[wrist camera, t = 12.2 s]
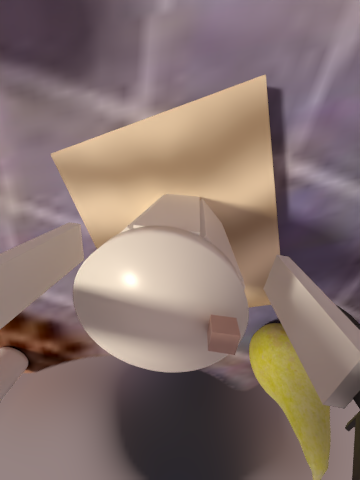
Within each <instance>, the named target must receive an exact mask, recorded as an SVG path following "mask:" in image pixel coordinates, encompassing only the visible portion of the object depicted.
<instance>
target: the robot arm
mask: <svg viewBox="0 0 360 480" xmlns="http://www.w3.org/2000/svg"><path fill="white" fill-rule="evenodd" d="M83 260H84V255H83V245H82V236H81V226H80V224H76V223H67V224H65V225H63V226H61V227H58V228H56V229H54V230H52V231H50V232H47V233H45V234H43V235H41V236H38V237H36V238H34V239H32V240H30V241H27V242H25V243H23V244H21V245H19V246H16V247H14V248H12V249H10V250H8V251H5V252H3V253H1V254H0V329H1V328H2V327H4V326H5V325H6V324H7V323H8V322H10V321H11V320H12V319H13V318H14V317H16V316H17V315H18V314H19V313H20V312H22V311H23V310H24V309H25V308H26V307H28V306H29V305H30V304H31V303H32V302H34V301H35V300H36V299H37V298H38V297H40V296H41V295H42V294H43V293H44V292H46V291H47V290H48V289H49V288H50V287H52V286H53V285H54V284H55V283H56V282H58V281H59V280H60V279H61V278H62V277H64V276H65V275H66V274H67V273H68V272H70V271H71V270H72V269H73V268H74V267H76V266H77V265H78V264H79V263H80V262H82V261H83ZM264 291H265V293H266V295H267V297H268V299H269V301H270V303H271V305H272V307H273V309H274V310H275V312H276V314H277V316H278V318H279V320H280V322H281V324H282V326H283V328H284V330H285V332H286V334H287V336H288V338H289V340H290V342H291V344H292V345H293V347H294V349H295V351H296V353H297V355H298V357H299V359H300V361H301V363H302V365H303V367H304V369H305V371H306V373H307V375H308V377H309V379H310V380H311V382H312V384H313V386H314V388H315V390H316V392H317V394H318V396H319V398H320V400H321V402H322V404H323V405H327V406H333V407H338V408H343V409H344V408H345V407H346V406H347V405H348V404H349V403H350V402H351V401H352V400H353V399H354V401H355V402H356V404H357V405H358V407H359V408H360V324H359V323H358V322H357V321H356V320H355V319H354V318H353V317H352V316H351V315H350V314H348V313H347V312H346V311H344V310H343V309H341V308H340V307H339V306H336V305H335V304H334V303H333V302H332V301H331V300H330V299H329V298H328V297H327V296H326V295H325V294H324V293H323V292H322V291H321V290H320V288H319V287H318V286H317V285H316V284H315V283H314V282H313V281H312V280H311V279H310V278H309V277H308V276H307V275H306V274H305V273H304V272H303V271H302V270H301V269H300V268H299V267H298V266H297V265H296V264H295V263H294V262H293V261H292V260H291V258H290V257H288V256H282V255H276V258H275V260H274V263H273V265H272V268H271V271H270V273H269V276H268V278H267V281H266V283H265V286H264ZM353 427H355V441H354V458H353V476H352V480H360V411H359V412H358V413H357V415H355V416H354V417H353V419H351V420H350V421H349V422H348V423H347V425H346V427H345V428H346V429H347V430H348V431H350V430H351V429H352V428H353Z"/></svg>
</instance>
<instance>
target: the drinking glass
mask: <svg viewBox="0 0 360 480" xmlns="http://www.w3.org/2000/svg"><path fill="white" fill-rule="evenodd" d="M27 367H28V359H27V357H26V356H25V355H24V354H23V353H22V352H20V351H19V350H17V349H14V348H11V347H1V348H0V402H1V401H2V399H3V398H4V397H5V395H6V394H7V393H8V391H9V390H10V389H11V387H12V386H13V385H14V384H15V382H16V381H17V380H18V378H19V377H20V376H21V375H22V374H23V373H24V371H25V370H26V369H27Z"/></svg>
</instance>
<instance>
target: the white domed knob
mask: <svg viewBox="0 0 360 480" xmlns="http://www.w3.org/2000/svg"><path fill="white" fill-rule="evenodd" d="M244 290H245V284H244V279H243V277H242V274H241V272H240V269H239V266H238V264H237V261H236V259H235V256H234V253H233V251H232V248H231V246H230V243H229V240H228V238H227V235H226V233H225V230H224V227H223V225H222V223H221V221H220V220H219V219H218V218H217V216H216V215H215V214H214V212H213V211H212V210H211V209H210V207H209V206H208V205H207V203H206V202H205V201H204V200H203V199H201V200H200V197H197V196H187V195H177V194H166V195H163V196H161V197H160V198H159V199H158V200H157V201H156V202H155V203H153V204H152V205H151V206H150V207H149V208H148V209H147V210H145V211H144V212H143V213H142V214H141V215H140V216H139V217H137V218H136V219H135V220H134V221H133V222H132V223H130V224H129V225H128V226H127V227H126V228H125V229H124V230H123V231H121V232H120V233H119V234H117V235H116V236H114V237H112V238H111V239H109V240H108V241H107V242H105V243H104V244H103V245H102V246H101V247H99V248H98V249H97V250H96V251H95V252H93V253H92V254H91V255H90V256H89V257H88V258H87V259H86V260H85V261H84V263H83V264H82V266H81V267H80V269H79V271H78V273H77V275H76V278H75V281H74V286H73V302H74V307H75V311H76V314H77V316H78V318H79V321H80V323H81V324H82V326H83V328H84V329H85V330H86V332H87V333H88V334H89V336H90V337H91V338H92V339H93V340H94V341H95V342H96V343H97V344H98V345H99V346H101V347H102V348H103V349H104V350H106V351H107V352H108V353H110V354H111V355H113V356H115V357H117V358H118V359H120V360H122V361H124V362H127V363H129V364H132V365H134V366H137V367H140V368H144V369H148V370H153V371H161V372H186V371H193V370H197V369H201V368H204V367H207V366H210V365H212V364H214V363H216V362H218V361H220V360H221V359H223V358H225V357H226V356H227V355H228V354H232V355H235V353H236V350H237V347H238V344H239V343H240V341H241V339H242V338H243V336H244V334H245V331H246V329H247V324H248V318H249V309H248V301H247V298H246V295H245V292H244Z"/></svg>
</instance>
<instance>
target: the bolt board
mask: <svg viewBox="0 0 360 480" xmlns="http://www.w3.org/2000/svg"><path fill="white" fill-rule="evenodd" d="M51 156H52V158H53V160H54V162H55V164H56V167H57V169H58V171H59V173H60V175H61V177H62V179H63V181H64V183H65V185H66V187H67V189H68V191H69V193H70V195H71V197H72V199H73V201H74V203H75V205H76V207H77V209H78V211H79V213H80V215H81V217H82V219H83V221H84V223H85V226H86V228H87V230H88V232H89V234H90V236H91V238H92V240H93V242H94V244H95V246H96V248H97V249H98V248H99V247H101V246H102V245H103V244H104V243H105V242H107V241H108V240H109V239H111V238H112V237H114V236H116V235H117V234H119V233H120V232H121V231H123V230H124V229H125V228H126V227H127V226H128V225H129V224H130V223H132V222H133V221H134V220H135V219H136V218H137V217H139V216H140V215H141V214H142V213H143V212H144V211H145V210H147V209H148V208H149V207H150V206H151V205H152V204H153V203H155V202H156V201H157V200H158V199H159V198H160V197H161V196H163V195H166V194H177V195H187V196H197V197H200V200H201V199H203V200H204V201H205V202H206V203H207V205H208V206H209V207H210V209H211V210H212V211H213V212H214V214H215V215H216V216H217V218H218V219H219V220H220V221H221V223H222V225H223V227H224V230H225V233H226V235H227V238H228V240H229V243H230V246H231V248H232V251H233V253H234V256H235V259H236V261H237V264H238V266H239V269H240V272H241V274H242V277H243V279H244V284H245V290H244V292H245V295H246V298H247V301H248V307H256V306H263V305H270V304H271V303H270V301H269V299H268V297H267V295H266V293H265V291H264V286H265V283H266V281H267V278H268V276H269V273H270V271H271V268H272V265H273V263H274V260H275V258H276V255H280V247H279V234H278V222H277V209H276V197H275V185H274V172H273V160H272V147H271V135H270V123H269V110H268V98H267V85H266V75H263V76H260V77H257V78H255V79H252V80H249V81H247V82H244V83H241V84H238V85H236V86H233V87H230V88H228V89H225V90H222V91H220V92H217V93H214V94H211V95H209V96H206V97H203V98H201V99H198V100H195V101H192V102H190V103H187V104H184V105H182V106H179V107H176V108H174V109H171V110H168V111H165V112H163V113H160V114H157V115H155V116H152V117H149V118H146V119H144V120H141V121H138V122H136V123H133V124H130V125H128V126H125V127H122V128H119V129H117V130H114V131H111V132H109V133H106V134H103V135H101V136H98V137H95V138H92V139H90V140H87V141H84V142H82V143H79V144H76V145H73V146H71V147H68V148H65V149H63V150H60V151H57V152H55V153H52V154H51Z"/></svg>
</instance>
